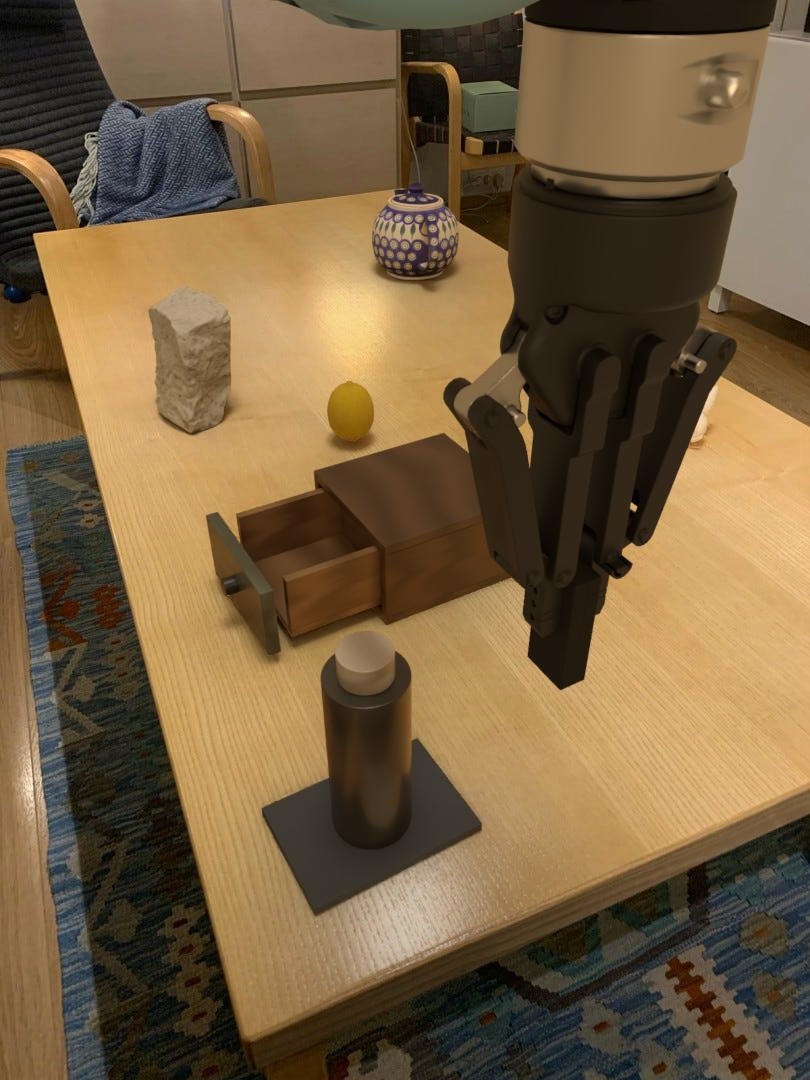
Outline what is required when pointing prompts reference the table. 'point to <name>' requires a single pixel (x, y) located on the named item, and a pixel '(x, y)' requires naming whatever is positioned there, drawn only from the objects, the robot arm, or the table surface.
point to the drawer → (295, 565)
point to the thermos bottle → (368, 739)
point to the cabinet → (417, 522)
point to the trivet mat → (347, 870)
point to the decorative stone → (191, 358)
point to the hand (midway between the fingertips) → (555, 667)
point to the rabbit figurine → (703, 421)
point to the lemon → (350, 411)
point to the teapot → (415, 235)
